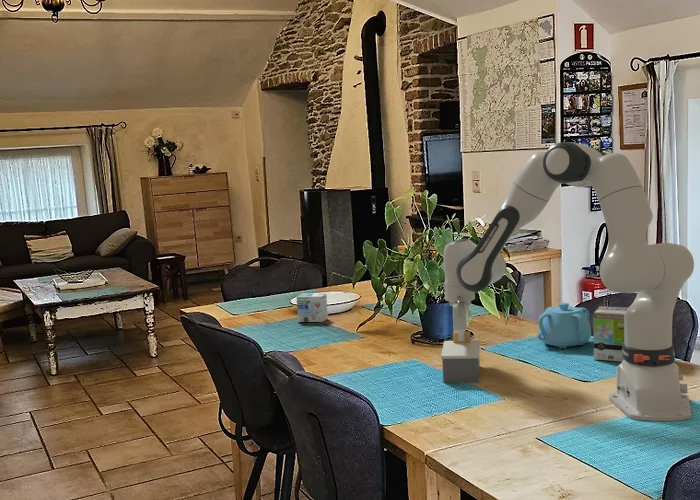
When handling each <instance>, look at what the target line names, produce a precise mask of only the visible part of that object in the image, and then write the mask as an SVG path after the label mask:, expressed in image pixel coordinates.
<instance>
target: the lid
mask: <svg viewBox="0 0 700 500" xmlns="http://www.w3.org/2000/svg"><path fill="white" fill-rule="evenodd" d="M464 337H465V340H464V341H459V340H458V332H457V331H454V330H453V331H452V340H444V341H443V344H442V345H443V346H442V349H441V354H440V359H441V360H442V359H464V358H479V359H480V356H481V355H480V353H481V352H480V350H481V347H480V346H481V340H471V331H470V330H466V331H464Z"/></svg>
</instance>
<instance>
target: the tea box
mask: <svg viewBox="0 0 700 500" xmlns="http://www.w3.org/2000/svg"><path fill="white" fill-rule="evenodd" d="M628 308H629V307H622V306H621V307H620V306H619V307H618V306H600V305H599V306H598V308H597V309H596V310H595V311H594V312H593V329H592V331H593V335H592V336H593V346H592V347H593V361H595V360H596V361H611V362H620V363H622V361H623V353H622V348H623V343H624V315H625V312H626V310H627V309H628Z"/></svg>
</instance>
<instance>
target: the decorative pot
mask: <svg viewBox="0 0 700 500" xmlns="http://www.w3.org/2000/svg"><path fill="white" fill-rule="evenodd" d="M590 317H591V316H590V311H589V310H588V309H587V308H586V307H576V306H572V305H570V303H568V302H559V303H558V306H548V307H546V309H545V310H544V312H543V313H541V314H540V315H539V317H538V320H537V323H538V330H537V333H538V334H537V339H538V340H540V341H542V343H545V344H546V343H547V344H546V345H548V344H549V345H550V346H552V347H553V346H554V347H559V348H566V349H567V348H568V347H575V346H576V345H583V346H584V345H585V344H586V343H588V341H590V339H591V337H592V328H591V325H590V321H589V319H590ZM559 348H558V349H559Z"/></svg>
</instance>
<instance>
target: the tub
mask: <svg viewBox="0 0 700 500" xmlns="http://www.w3.org/2000/svg"><path fill="white" fill-rule="evenodd" d="M441 360H442V381H443V383H445V384H446V383H480V374H481V373H480V372H481V371H480V369H481V367H480V366H481V365H480V364H481V363H480V357H479V358H464V359H441Z"/></svg>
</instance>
